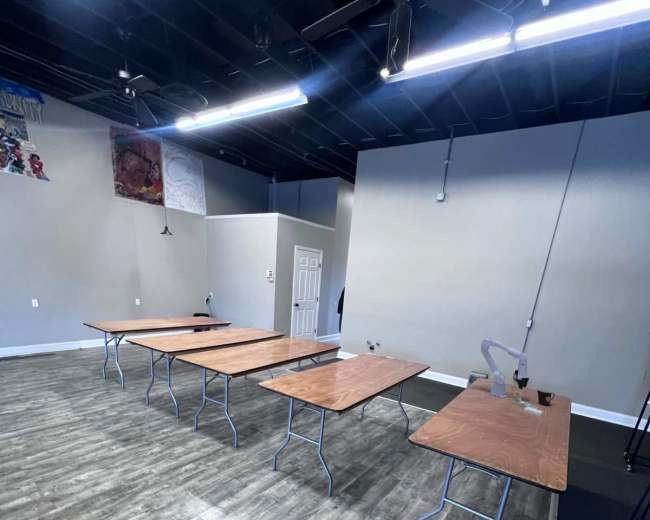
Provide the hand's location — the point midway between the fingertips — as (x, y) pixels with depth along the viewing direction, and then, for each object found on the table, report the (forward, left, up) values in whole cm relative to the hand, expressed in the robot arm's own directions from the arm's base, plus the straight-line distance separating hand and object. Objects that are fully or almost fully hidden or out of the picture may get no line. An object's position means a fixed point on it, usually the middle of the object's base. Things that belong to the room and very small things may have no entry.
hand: (522, 388), depth 222 cm
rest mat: (+4, -8, -9) cm, 13 cm away
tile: (+8, -18, -9) cm, 22 cm away
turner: (+3, -8, -9) cm, 12 cm away
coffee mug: (+13, +8, -10) cm, 18 cm away
